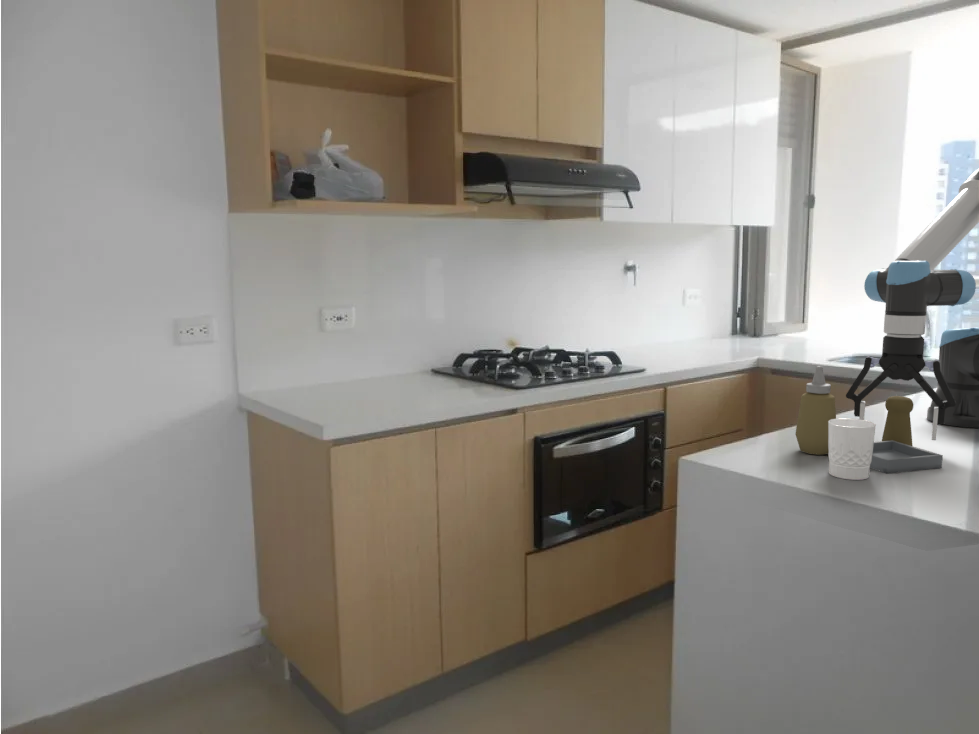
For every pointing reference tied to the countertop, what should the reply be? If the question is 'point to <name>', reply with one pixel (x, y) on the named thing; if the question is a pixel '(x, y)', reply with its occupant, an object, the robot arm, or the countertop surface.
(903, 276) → the robot arm
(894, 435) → the cork
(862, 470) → the white cup
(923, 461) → the tray
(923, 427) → the countertop surface
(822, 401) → the squeeze bottle
